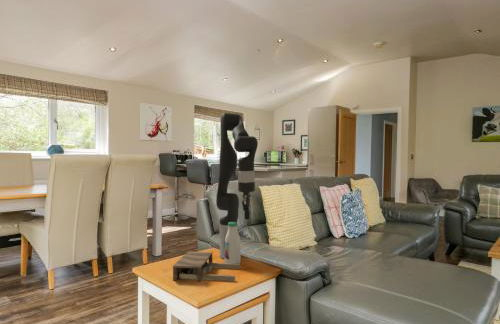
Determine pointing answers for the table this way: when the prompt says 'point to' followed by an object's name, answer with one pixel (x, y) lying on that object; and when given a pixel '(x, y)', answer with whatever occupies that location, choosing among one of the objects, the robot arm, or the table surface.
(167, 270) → the table surface
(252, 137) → the robot arm
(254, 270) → the table surface
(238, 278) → the table surface
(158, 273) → the table surface
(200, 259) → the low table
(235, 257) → the milk bottle
